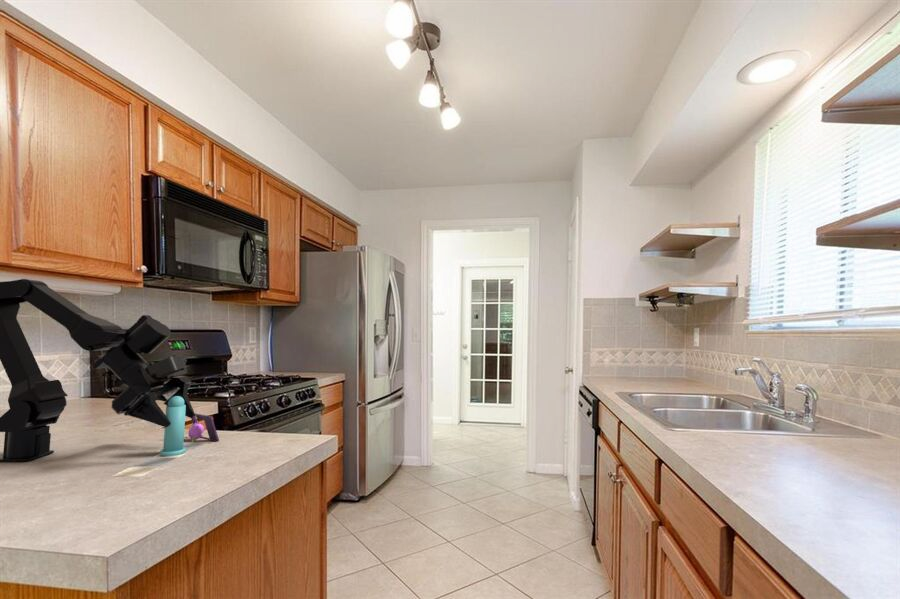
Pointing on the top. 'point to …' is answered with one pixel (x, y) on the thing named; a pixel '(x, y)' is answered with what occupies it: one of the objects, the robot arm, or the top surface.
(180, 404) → the pawn
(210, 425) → the purple piece
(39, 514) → the top surface
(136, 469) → the board
